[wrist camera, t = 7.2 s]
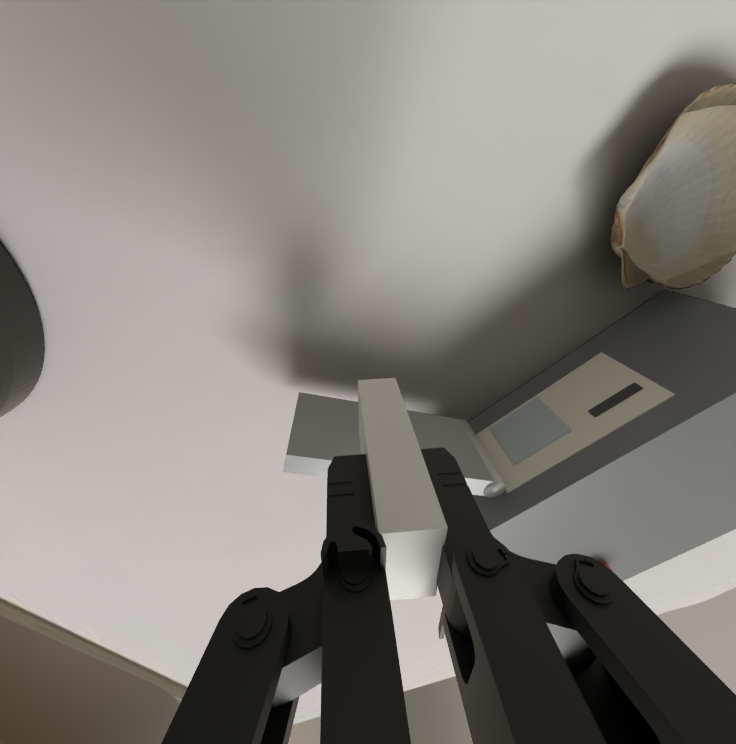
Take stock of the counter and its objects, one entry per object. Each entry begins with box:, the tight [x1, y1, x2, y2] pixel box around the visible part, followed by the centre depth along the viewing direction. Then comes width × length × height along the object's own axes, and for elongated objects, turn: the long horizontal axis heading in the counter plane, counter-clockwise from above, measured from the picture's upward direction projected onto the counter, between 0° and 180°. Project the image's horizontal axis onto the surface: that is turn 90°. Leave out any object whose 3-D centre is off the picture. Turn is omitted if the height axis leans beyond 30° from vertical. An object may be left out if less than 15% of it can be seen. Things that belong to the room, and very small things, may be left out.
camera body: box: [468, 290, 736, 581], centre depth 18 cm, size 10×18×8 cm, turn 130°
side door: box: [283, 392, 506, 498], centre depth 17 cm, size 2×10×5 cm, turn 76°
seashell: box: [610, 83, 736, 289], centre depth 15 cm, size 8×3×8 cm
